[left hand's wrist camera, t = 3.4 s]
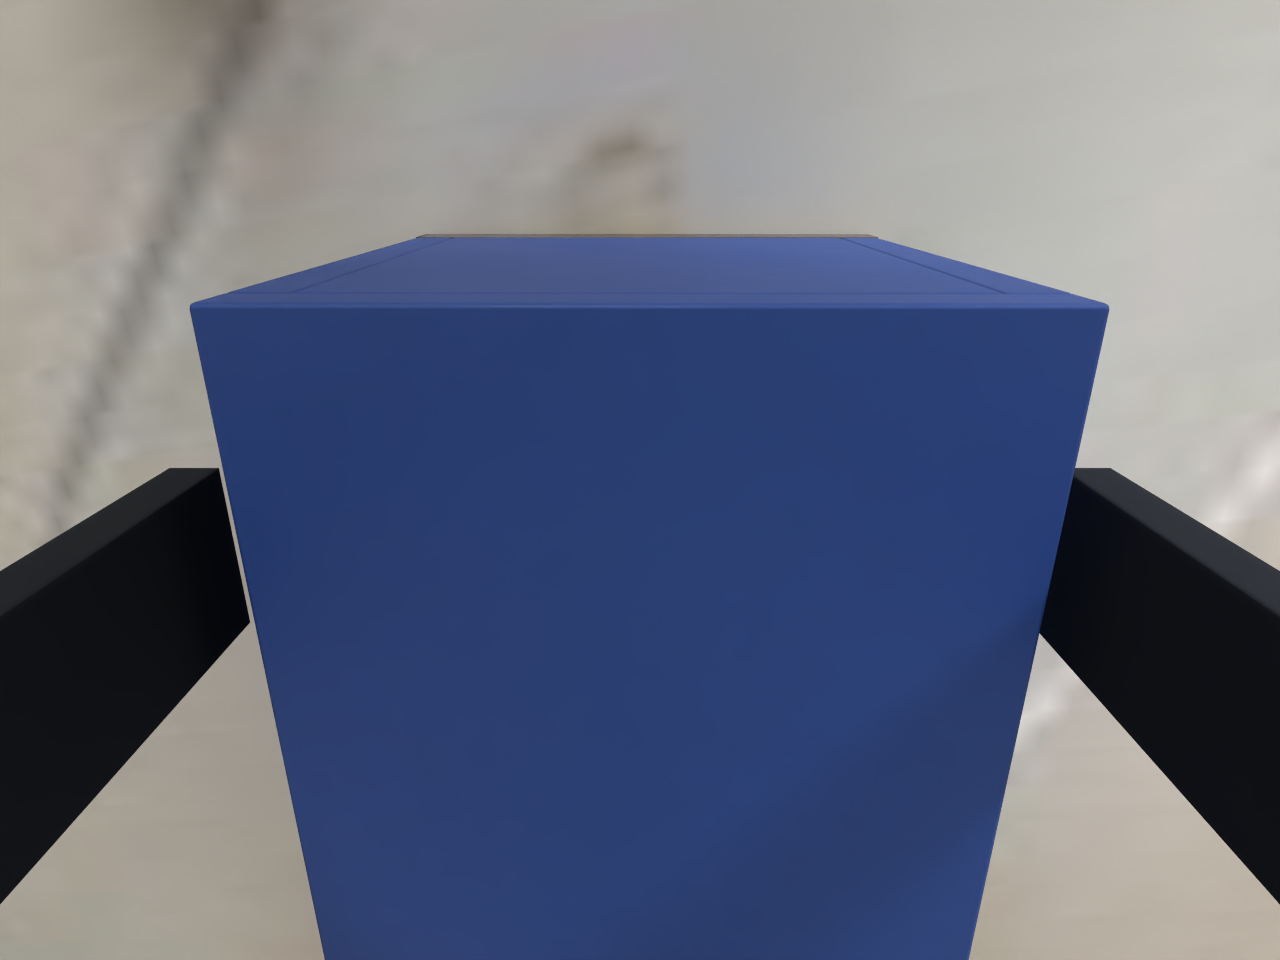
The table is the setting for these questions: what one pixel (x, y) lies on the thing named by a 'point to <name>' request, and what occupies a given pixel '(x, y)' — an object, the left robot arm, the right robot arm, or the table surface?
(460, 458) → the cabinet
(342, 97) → the table surface
